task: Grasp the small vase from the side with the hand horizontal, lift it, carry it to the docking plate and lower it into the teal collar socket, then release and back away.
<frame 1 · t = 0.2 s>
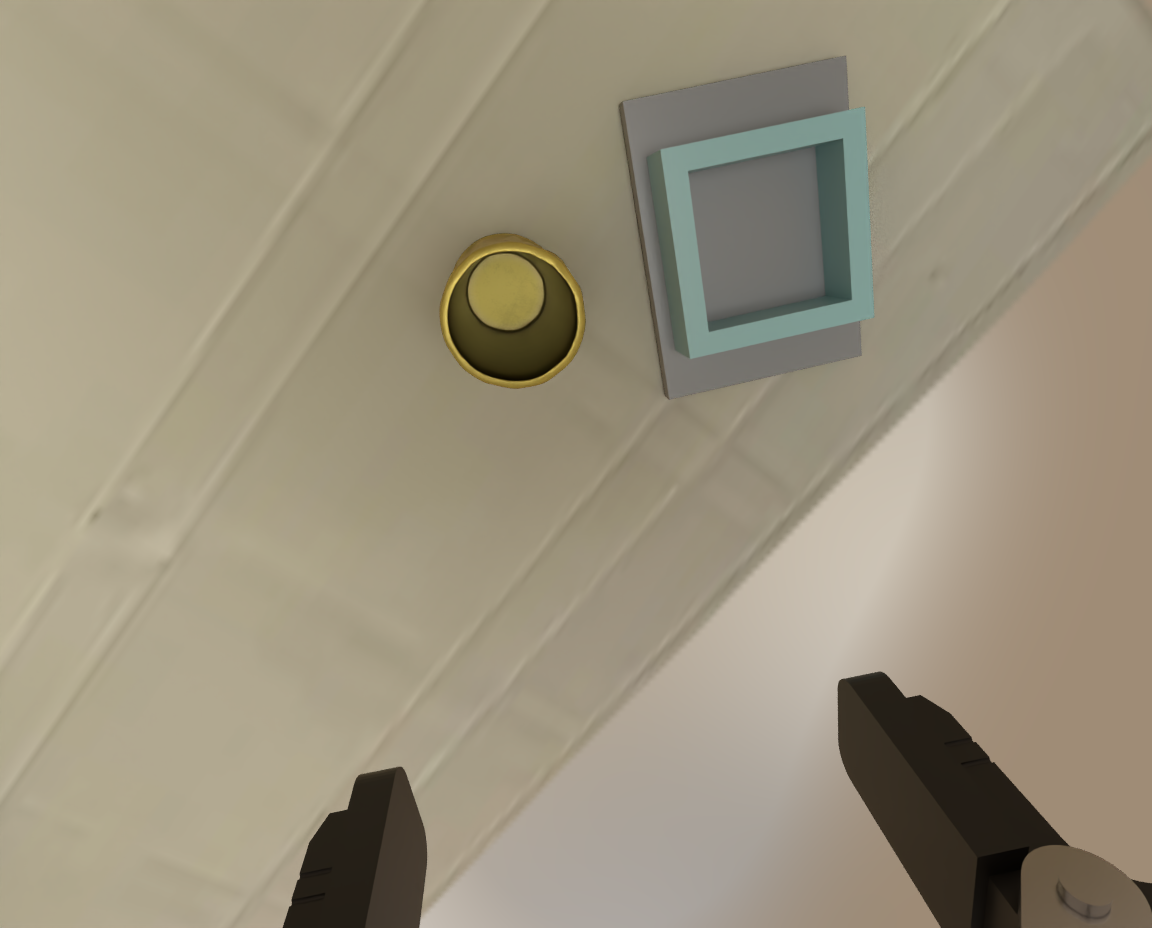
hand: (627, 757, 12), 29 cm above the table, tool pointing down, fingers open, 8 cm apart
vase: (505, 290, 37), on the table
dock: (745, 239, 37), on the table
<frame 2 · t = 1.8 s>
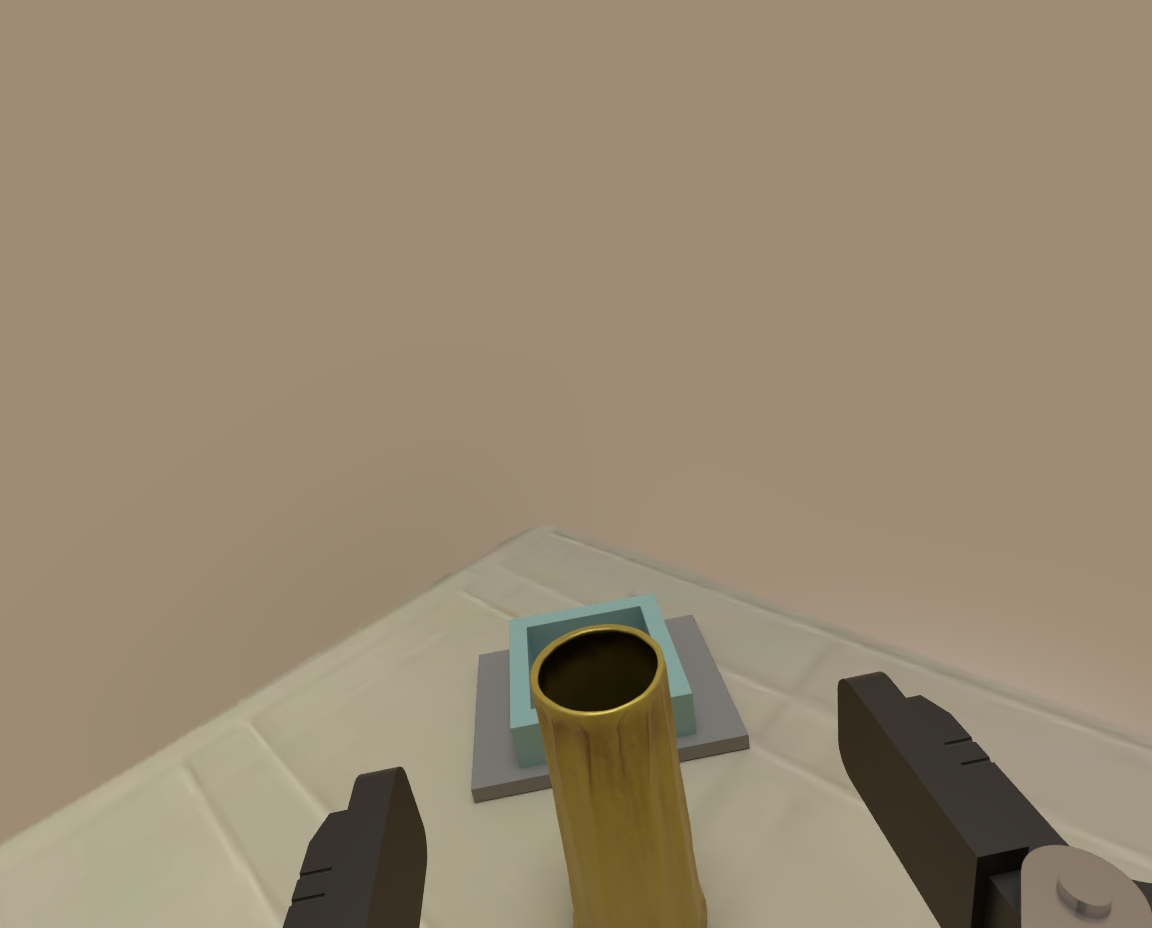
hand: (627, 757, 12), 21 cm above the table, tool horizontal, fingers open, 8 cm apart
vase: (640, 917, 30), on the table
dock: (599, 702, 43), on the table
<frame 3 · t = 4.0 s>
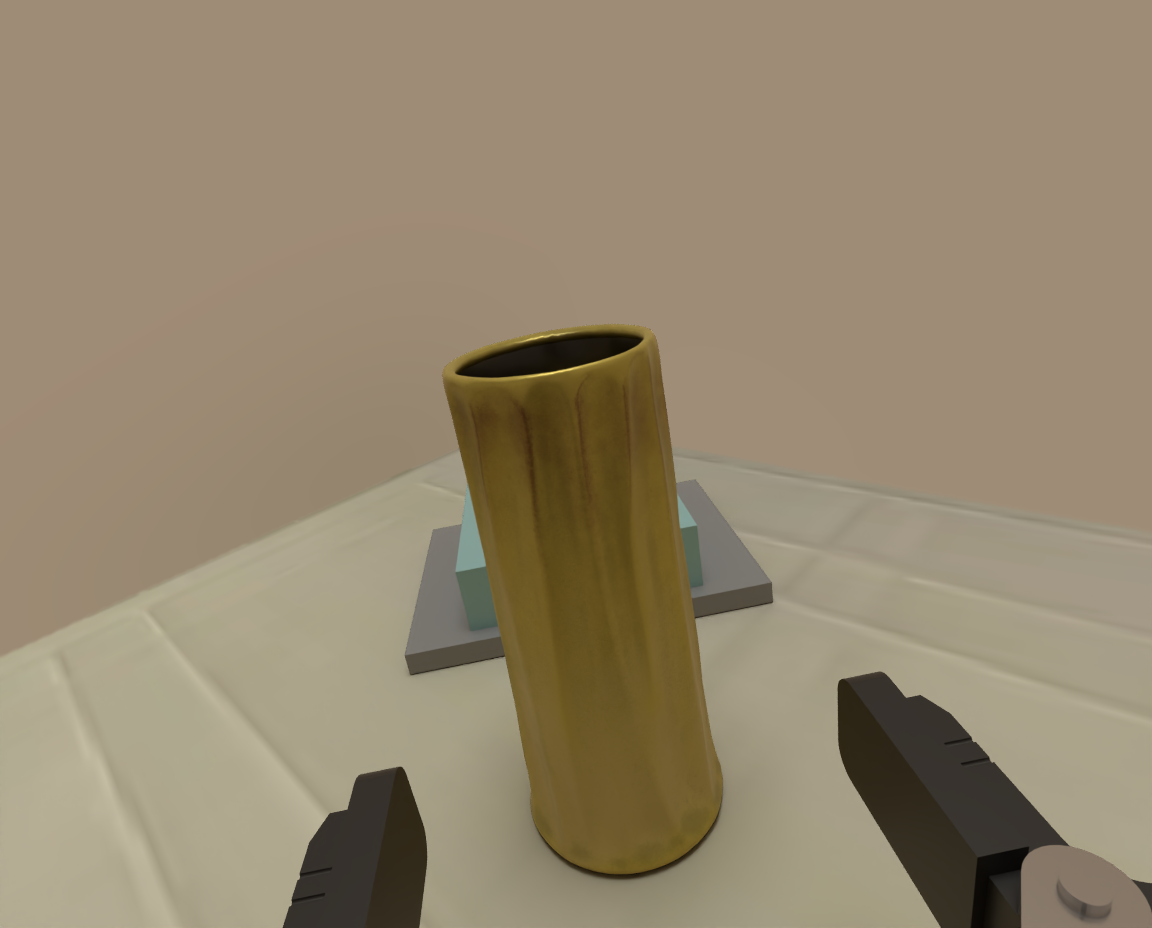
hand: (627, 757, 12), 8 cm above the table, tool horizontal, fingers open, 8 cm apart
vase: (627, 792, 21), on the table
dock: (578, 568, 34), on the table
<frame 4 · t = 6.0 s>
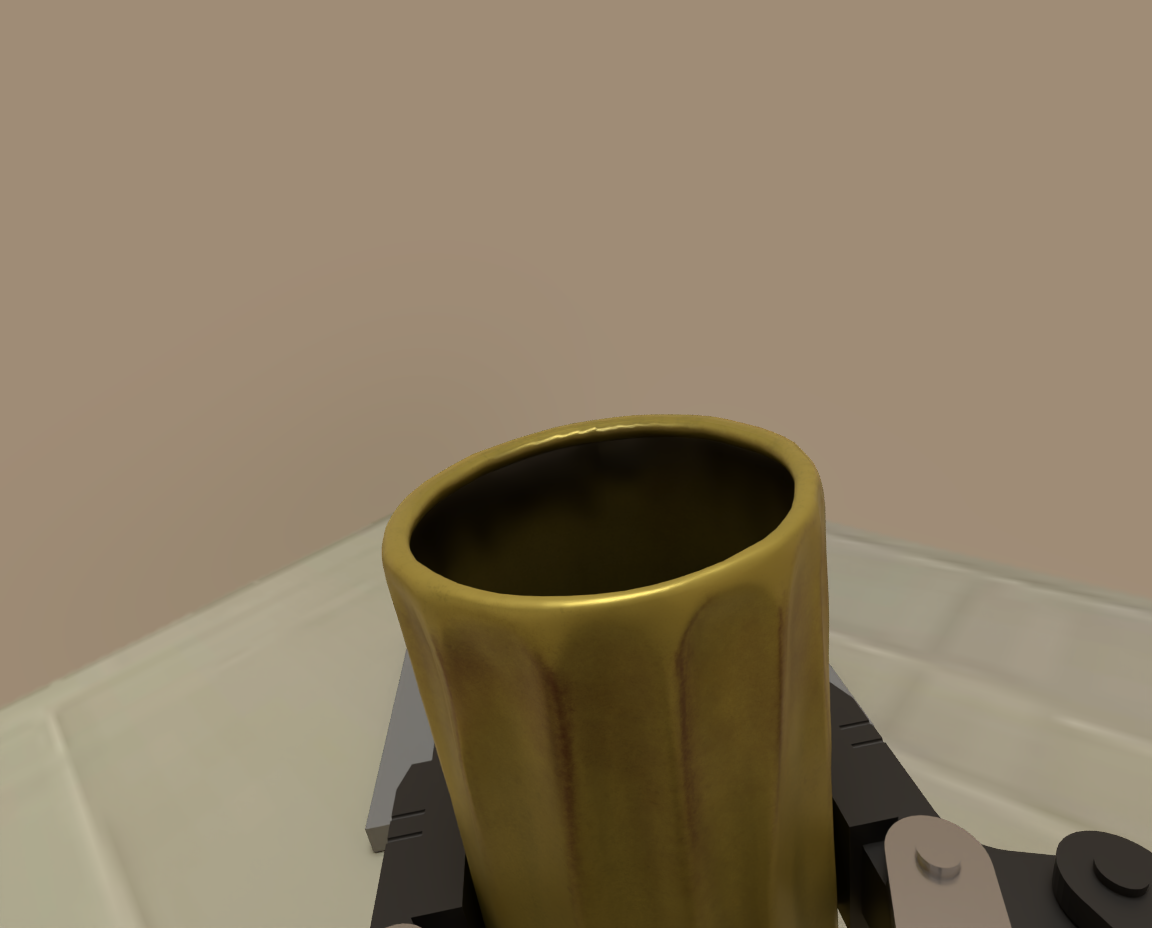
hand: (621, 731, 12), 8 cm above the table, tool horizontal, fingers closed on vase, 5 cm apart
dock: (601, 675, 26), on the table
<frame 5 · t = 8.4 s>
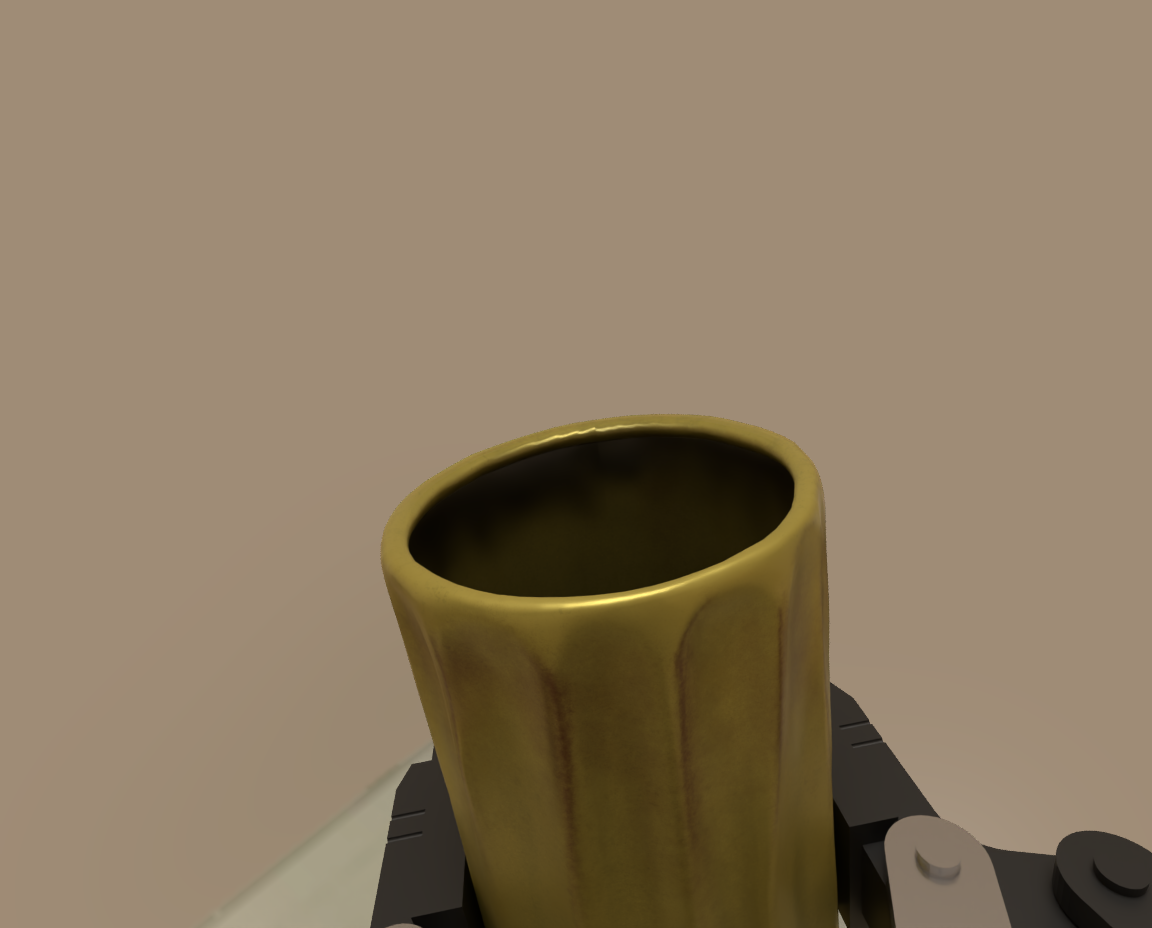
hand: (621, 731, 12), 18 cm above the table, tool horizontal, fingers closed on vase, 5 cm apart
when the fingers open (10 cm above the table, at t = 10.7 s): vase drops 1 cm, resting on dock.
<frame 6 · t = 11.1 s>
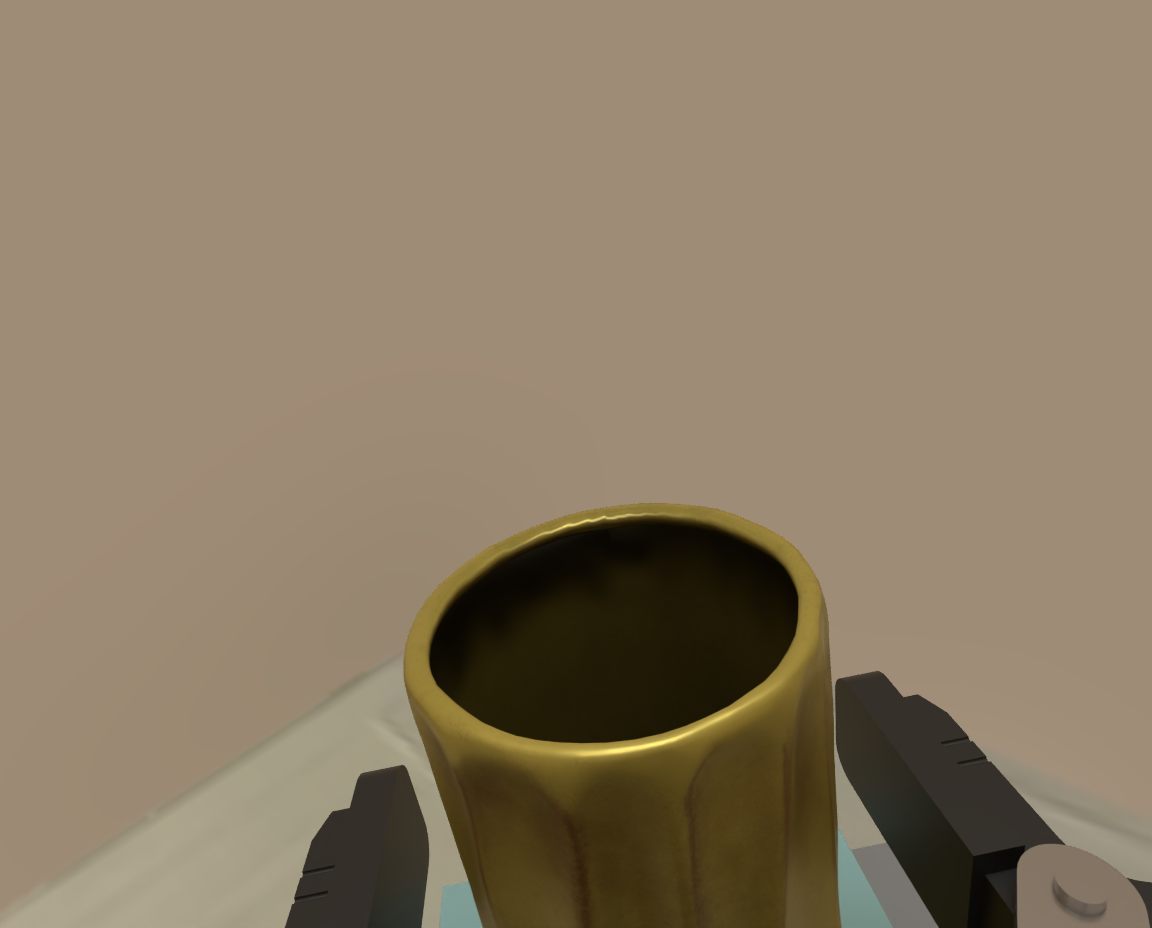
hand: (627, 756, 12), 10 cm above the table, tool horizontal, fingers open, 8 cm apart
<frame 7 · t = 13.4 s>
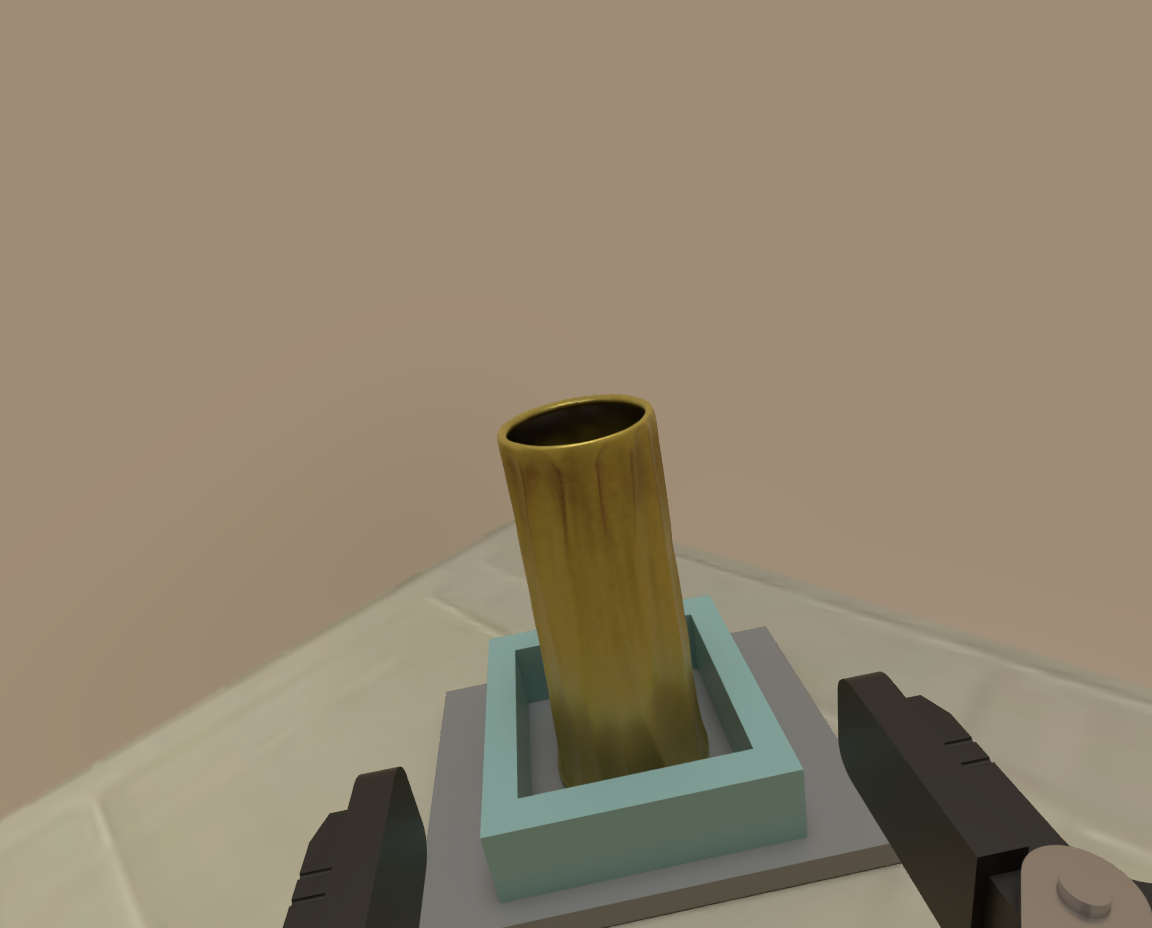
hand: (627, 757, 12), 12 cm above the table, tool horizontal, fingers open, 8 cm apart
vase: (633, 756, 26), point 1 cm above the table, touching dock
dock: (631, 769, 27), on the table
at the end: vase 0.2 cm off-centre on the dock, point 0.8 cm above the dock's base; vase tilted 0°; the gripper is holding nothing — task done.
